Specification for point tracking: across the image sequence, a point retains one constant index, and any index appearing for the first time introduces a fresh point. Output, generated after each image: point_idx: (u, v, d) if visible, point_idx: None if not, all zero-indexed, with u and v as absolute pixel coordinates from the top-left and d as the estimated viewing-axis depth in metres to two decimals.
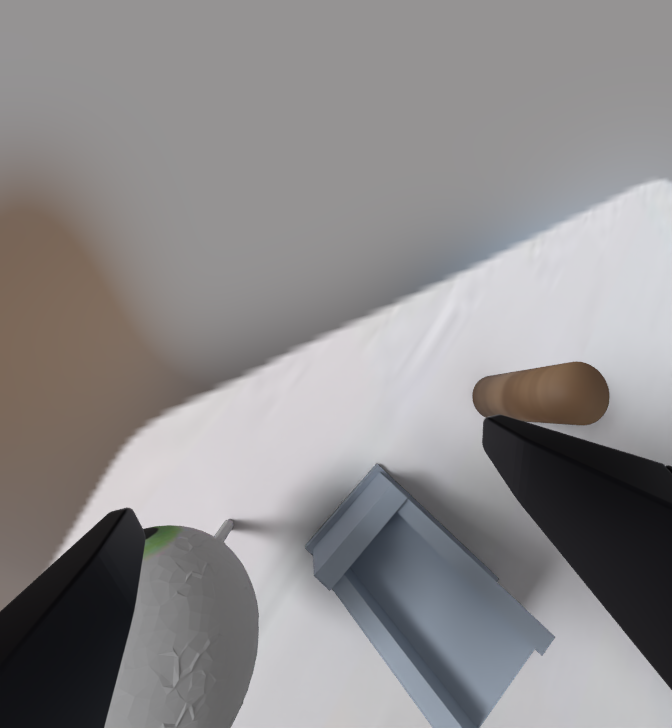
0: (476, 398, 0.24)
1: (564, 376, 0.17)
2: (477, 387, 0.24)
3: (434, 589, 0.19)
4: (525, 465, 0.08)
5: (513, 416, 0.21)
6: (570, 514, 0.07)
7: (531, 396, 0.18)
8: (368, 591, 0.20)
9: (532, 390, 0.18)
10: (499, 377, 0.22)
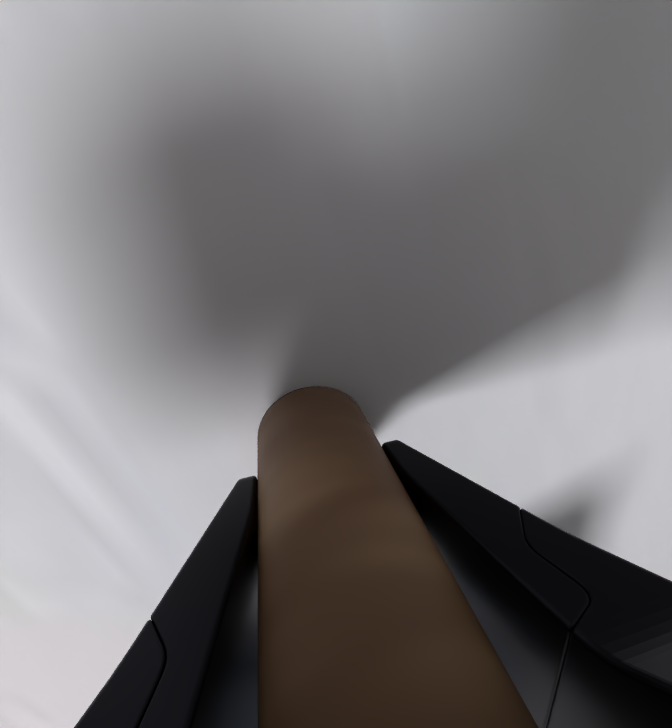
0: None
1: None
2: None
3: None
4: None
5: None
6: None
7: None
8: None
9: None
10: None
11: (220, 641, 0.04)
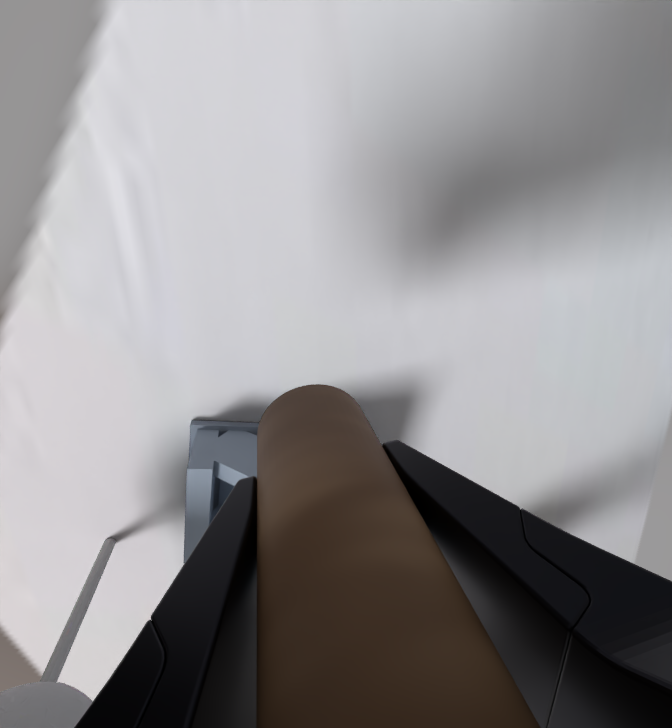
0: None
1: None
2: None
3: None
4: None
5: None
6: None
7: None
8: None
9: None
10: None
11: (220, 641, 0.04)
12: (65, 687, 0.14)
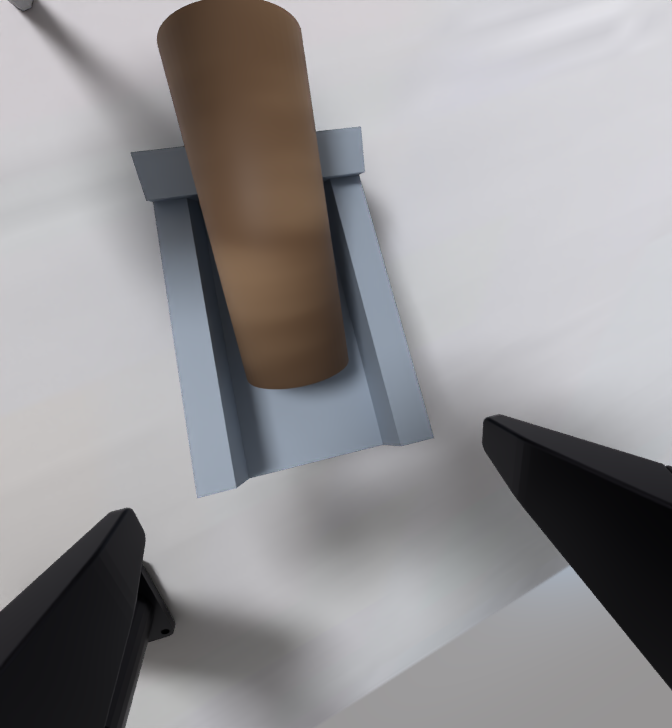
0: (258, 370, 0.09)
1: None
2: (244, 368, 0.10)
3: None
4: (525, 465, 0.08)
5: (280, 234, 0.08)
6: (570, 514, 0.07)
7: (193, 104, 0.07)
8: (211, 271, 0.12)
9: (183, 103, 0.07)
10: None
11: None
12: None
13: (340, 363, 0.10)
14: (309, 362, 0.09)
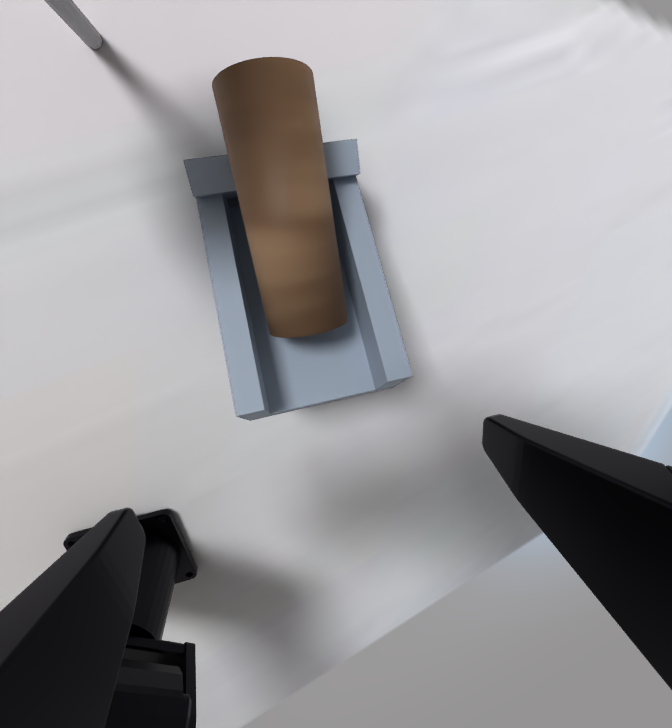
0: (280, 323, 0.12)
1: None
2: (268, 324, 0.13)
3: None
4: (525, 465, 0.08)
5: (298, 219, 0.11)
6: (570, 514, 0.07)
7: (238, 128, 0.10)
8: (238, 253, 0.15)
9: (230, 126, 0.10)
10: None
11: None
12: None
13: (341, 319, 0.13)
14: (318, 316, 0.12)
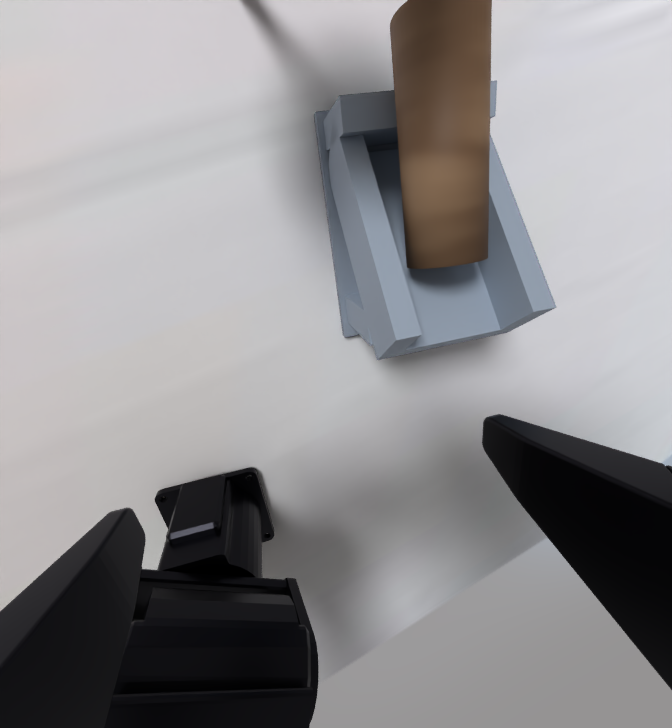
0: (433, 252, 0.13)
1: None
2: (415, 257, 0.13)
3: None
4: (525, 465, 0.08)
5: (471, 144, 0.11)
6: (570, 514, 0.07)
7: (426, 51, 0.10)
8: None
9: (416, 50, 0.11)
10: (403, 198, 0.13)
11: None
12: None
13: (487, 252, 0.13)
14: (473, 245, 0.12)
